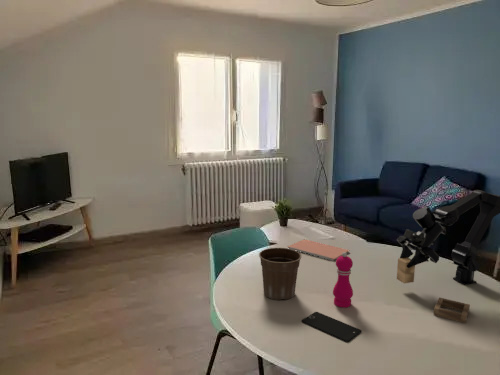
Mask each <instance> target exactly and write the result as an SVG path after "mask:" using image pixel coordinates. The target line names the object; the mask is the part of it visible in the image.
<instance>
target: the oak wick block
mask: <svg viewBox="0 0 500 375" xmlns="http://www.w3.org/2000/svg"><path fill="white" fill-rule="evenodd" d="M411 259H412V258H410V257H409V258H408V257H407V258H400V257H399V258H398V259H397V267H396V269H397V270H396V280H397V281H399V282H401V283H403V284H409V283H414V282H415V273H416V272H415V271H416V265H415V266H412V267H410V268H408V267H407V265H408V263H409V262H410V260H411Z"/></svg>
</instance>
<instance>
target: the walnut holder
mask: <svg viewBox="0 0 500 375" xmlns="http://www.w3.org/2000/svg"><path fill="white" fill-rule="evenodd" d="M470 306H471V305H470V304H468V303H464V302H460V301H455V300H451V299H447V298H444V297H443V298H442V297H440V296H439V297H438V299H437V301H436V304H435V305H434V308H433V315H434V316H437V317H439V318H444V319H447V320H448V319H449V320H451V321H456V322H460V323H463V324H466V323H467V318H468V316H469V313H470ZM446 308H448V309H446ZM450 309H452V310H450ZM454 310H456V311H454ZM459 311H460V312H459Z"/></svg>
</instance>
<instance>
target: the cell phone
mask: <svg viewBox="0 0 500 375" xmlns="http://www.w3.org/2000/svg"><path fill="white" fill-rule="evenodd" d="M301 323H303V324H305V325H307V326H309V327H311V328H313V329H316V330H317V331H320V332H322V333H324V334H327V335H328V336H332V337H334V338H336V339H338V340H341V341H343V342H345V343H349V342H351V341H353V339H355V338H356V337H357V336H359V335H360V334H361V333H362V329H359V328H357V327H355V326H353V325H350V324H348V323H345V322H343V321H341V320H338V319H335V318H333V317H331V316H328V315H326V314H324V313H321V312H319V311H314V312H313V313H311V314H310V315H308V316H306V317H304V318H303V319H302V320H301Z"/></svg>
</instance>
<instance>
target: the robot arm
mask: <svg viewBox="0 0 500 375" xmlns="http://www.w3.org/2000/svg"><path fill="white" fill-rule="evenodd" d="M477 205H479V208H480V212H479V214H478V215H477V217H476V219H475V221H474V222H473V225H472V226H471V228H470V229H469V230H470V231H469V232H468V234H467V235H466V237H465V239H464V241H463V242H461V243H456V244H455V246H454V248H453V249H452V251H451V259H452V262H453V265H456V270H455V276H454V277H452V279H453V280H455V281H457V282H458V283H461V284H463V285H471V284H477V280H474V278H475V272H477V271H479V270H480V267H481V264H480V263H479V262H478V260H477V259H476V258H477V257H478V252H477V250H478V249H477V248H478V246H479V244H480V243H481V240H482V239H483V236H484V235H485V233H486V231H487V230H488V228H489V225H491V222H492V220H493V219H494V217H496V216H498V215H499V214H500V195H498V194H494V193H489V192H486V191H485V190H484V191H483V190H480V189H475V190H472V192H471V193H470V194H467V195H466V196H465V197H463V198H461V199H459V200H458V201H455V202H454V203H453V204H451V205H450V204H449V205H445V206H441V207H439V208H436V209H435V210H433V211H432V210H431V209H430V207H428V206H425V205H424V206H423V207H421V208H418V209H416V210H415V211H414V212H413V214H412V218H413V219H414V220H415V222H416V223H417V224H418V225H419V226H420V227H421V228H422V230H421V231H420V230H418V231H417V232H415V231H413V230H410V229H408V228H406V229H405V232H404V234H403V235H399V236H398V237H397V239H396V241H397V242H398V243H399V245H400V246H401V247H402V249H401V254H400V257H399V259H400V258H407V257H408V258H410V257H412V255H414V256H413V257H412V258H410V259H411V260H410V262H409V263H408V265H407V267H408V268H410V267H412V266H415V267H416V266H417V265H419V264H423V263H425V262H427V263H428V262H429V261H430V262H432V263H434V264H437V263H438V262H439V260H440V256H439V254H438V253H437V252H436V251H435V250H434V249H433V248H431V245H432V246H434V245H435V244H436V242H435V240H437V238H438V237H439V236H440V234H443V235H447V230H446V229H447V227H450V226H452V225H454V224H455V223H456V222H457V221H458V220H459V218H460V216H461V215H463V214H465V213H466V212H467V211H469V210H470V209H472V208H474V207H475V206H477ZM443 225H444V226H443ZM446 226H447V227H446ZM412 250H414V252H413V251H412Z"/></svg>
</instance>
